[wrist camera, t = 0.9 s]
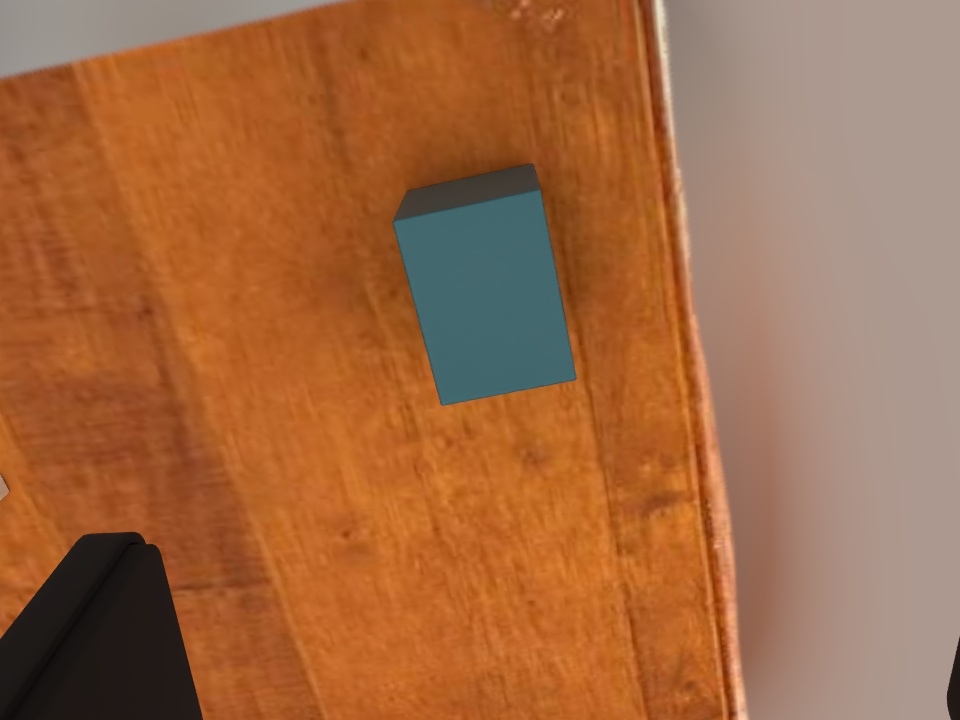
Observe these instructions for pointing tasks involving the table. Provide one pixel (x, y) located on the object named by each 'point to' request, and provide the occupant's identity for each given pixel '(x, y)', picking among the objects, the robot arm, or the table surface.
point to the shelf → (3, 488)
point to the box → (485, 284)
